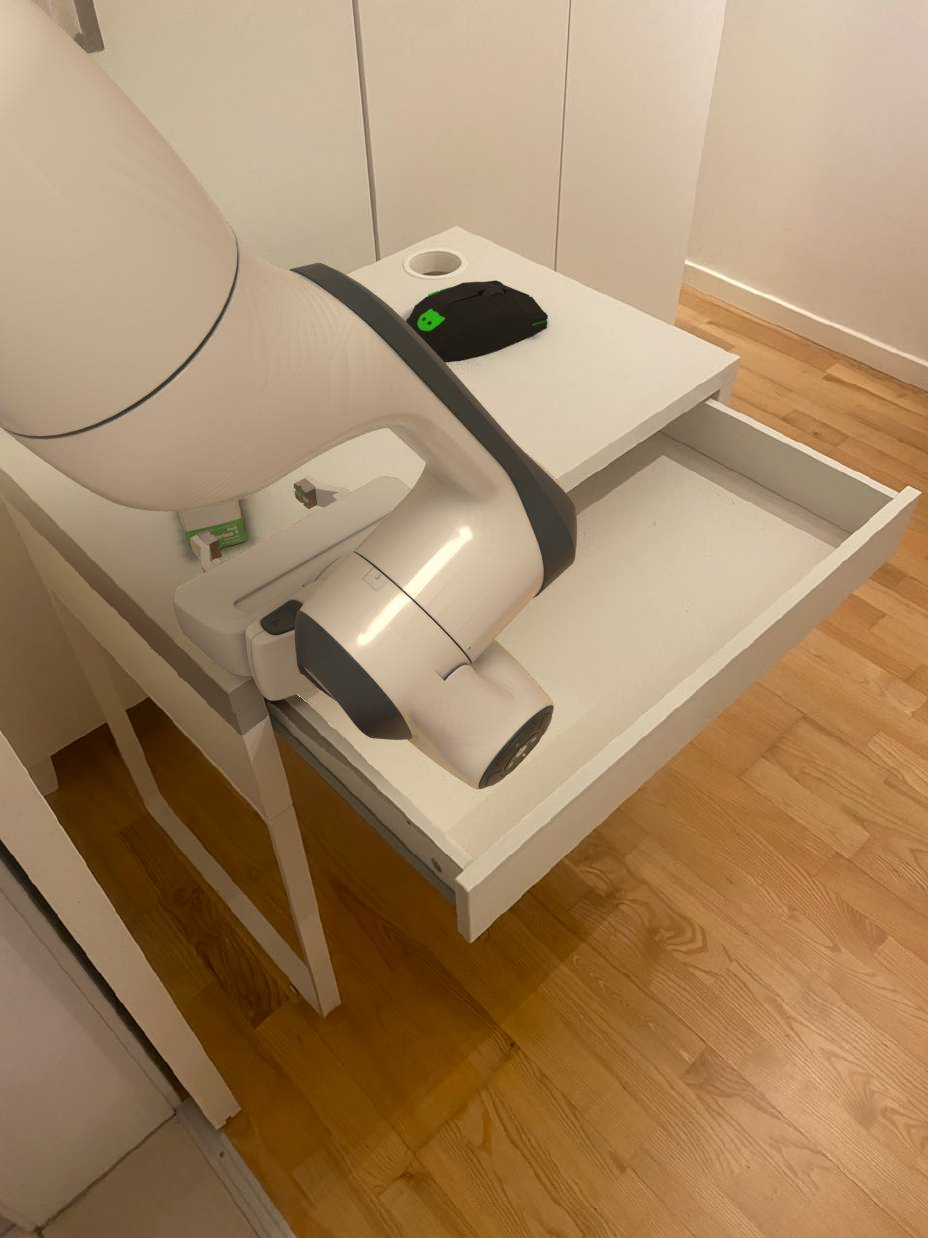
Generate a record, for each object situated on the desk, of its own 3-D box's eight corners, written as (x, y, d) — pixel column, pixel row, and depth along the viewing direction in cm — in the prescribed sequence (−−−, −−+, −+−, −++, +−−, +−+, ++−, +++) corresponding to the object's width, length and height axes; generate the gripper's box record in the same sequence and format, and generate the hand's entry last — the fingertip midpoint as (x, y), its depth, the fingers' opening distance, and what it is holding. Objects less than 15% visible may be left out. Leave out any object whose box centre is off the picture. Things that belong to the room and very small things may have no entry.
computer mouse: (375, 325, 104) (373, 291, 101) (495, 281, 111) (496, 248, 108) (435, 375, 98) (435, 340, 95) (558, 325, 105) (562, 292, 102)
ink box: (248, 543, 81) (225, 429, 72) (189, 556, 80) (158, 443, 71) (229, 480, 87) (205, 367, 78) (173, 492, 85) (142, 379, 77)
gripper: (472, 512, 70) (355, 425, 77) (235, 655, 61) (125, 541, 67) (470, 573, 75) (359, 485, 81) (250, 714, 65) (145, 603, 72)
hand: (251, 512), depth 74 cm, fingers open, 8 cm apart
